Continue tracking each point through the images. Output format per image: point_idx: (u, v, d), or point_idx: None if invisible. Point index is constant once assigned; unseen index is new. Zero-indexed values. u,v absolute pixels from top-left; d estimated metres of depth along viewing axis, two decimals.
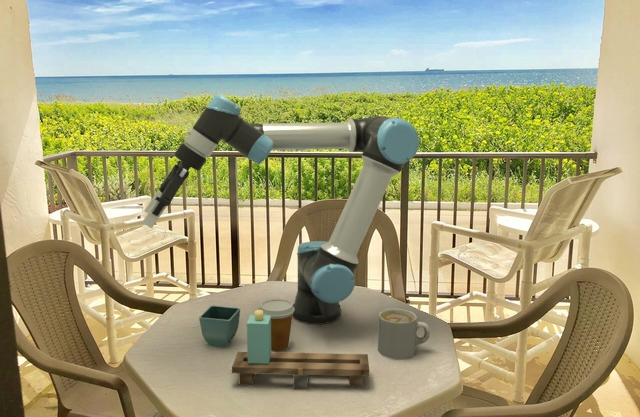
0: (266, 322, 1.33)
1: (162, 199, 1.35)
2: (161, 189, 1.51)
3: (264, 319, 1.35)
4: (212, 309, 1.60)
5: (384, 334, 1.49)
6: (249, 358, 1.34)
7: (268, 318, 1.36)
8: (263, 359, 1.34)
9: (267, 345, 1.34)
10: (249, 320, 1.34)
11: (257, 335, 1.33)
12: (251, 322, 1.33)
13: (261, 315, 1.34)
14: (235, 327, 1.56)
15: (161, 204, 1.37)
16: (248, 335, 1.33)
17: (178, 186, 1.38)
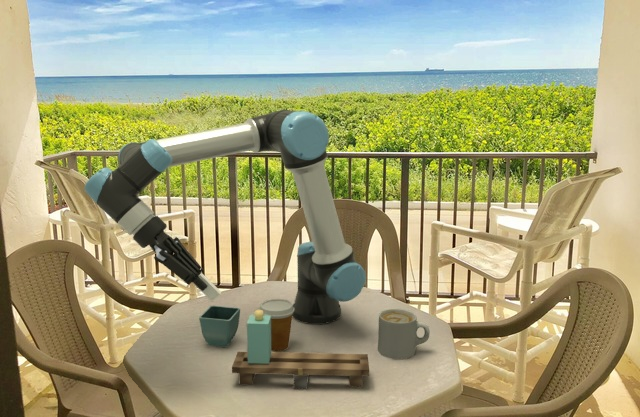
0: (266, 322, 1.33)
1: (187, 281, 1.30)
2: None
3: (264, 319, 1.35)
4: (212, 309, 1.60)
5: (384, 334, 1.49)
6: (249, 358, 1.34)
7: (268, 318, 1.36)
8: (263, 359, 1.34)
9: (267, 345, 1.34)
10: (249, 320, 1.34)
11: (257, 335, 1.33)
12: (251, 322, 1.33)
13: (261, 315, 1.34)
14: (235, 327, 1.56)
15: (194, 280, 1.32)
16: (248, 335, 1.33)
17: (175, 264, 1.28)
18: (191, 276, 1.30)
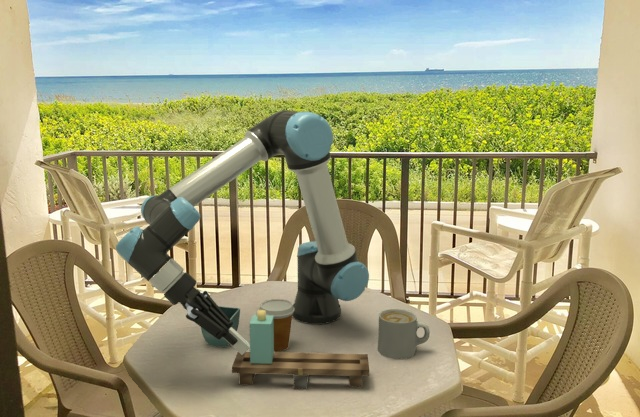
0: (269, 322, 1.33)
1: (218, 337, 1.32)
2: None
3: (267, 319, 1.35)
4: None
5: (384, 334, 1.49)
6: (252, 358, 1.34)
7: (271, 318, 1.36)
8: (266, 359, 1.34)
9: (270, 345, 1.34)
10: (252, 320, 1.34)
11: (260, 335, 1.33)
12: (254, 322, 1.33)
13: (264, 315, 1.34)
14: (235, 327, 1.56)
15: (225, 335, 1.34)
16: (251, 335, 1.33)
17: (207, 321, 1.30)
18: (222, 332, 1.32)
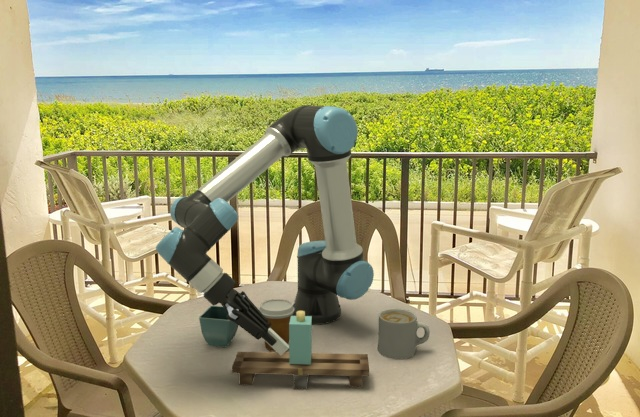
0: (308, 323, 1.33)
1: (258, 337, 1.32)
2: None
3: (306, 320, 1.35)
4: (212, 309, 1.60)
5: (384, 334, 1.49)
6: (291, 359, 1.34)
7: (309, 319, 1.35)
8: (305, 360, 1.34)
9: (309, 346, 1.33)
10: (291, 321, 1.34)
11: (299, 336, 1.33)
12: (293, 323, 1.33)
13: (303, 316, 1.34)
14: (235, 327, 1.56)
15: (264, 336, 1.34)
16: (290, 336, 1.33)
17: (247, 321, 1.30)
18: (262, 333, 1.32)
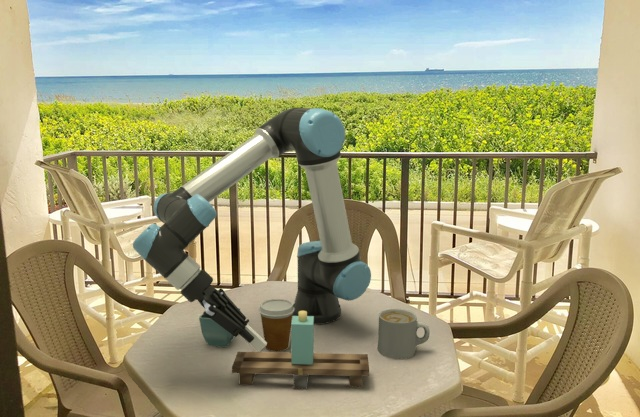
0: (310, 323, 1.33)
1: (235, 334, 1.32)
2: None
3: (308, 320, 1.35)
4: None
5: (384, 334, 1.49)
6: (293, 359, 1.34)
7: (311, 319, 1.35)
8: (307, 360, 1.34)
9: (311, 346, 1.33)
10: (293, 321, 1.34)
11: (301, 336, 1.33)
12: (295, 323, 1.33)
13: (305, 316, 1.34)
14: None
15: (241, 333, 1.34)
16: (292, 336, 1.33)
17: (224, 318, 1.30)
18: (239, 329, 1.32)
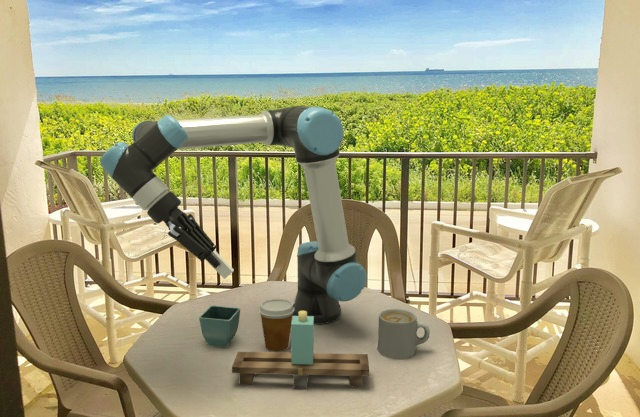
0: (310, 323, 1.33)
1: (200, 258, 1.30)
2: None
3: (308, 320, 1.35)
4: (212, 309, 1.60)
5: (384, 334, 1.49)
6: (293, 359, 1.34)
7: (311, 319, 1.35)
8: (307, 360, 1.34)
9: (311, 346, 1.33)
10: (293, 321, 1.34)
11: (301, 336, 1.33)
12: (295, 323, 1.33)
13: (305, 316, 1.34)
14: (235, 327, 1.56)
15: (207, 257, 1.32)
16: (292, 336, 1.33)
17: (189, 240, 1.28)
18: (204, 253, 1.30)
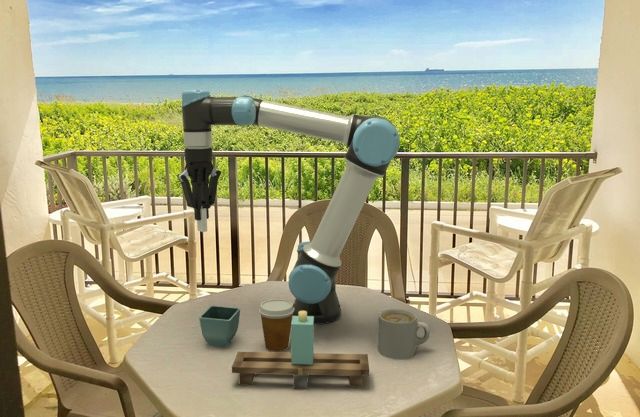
0: (310, 323, 1.33)
1: (188, 206, 1.58)
2: (201, 205, 1.61)
3: (308, 320, 1.35)
4: (212, 309, 1.60)
5: (384, 334, 1.49)
6: (293, 359, 1.34)
7: (311, 319, 1.35)
8: (307, 360, 1.34)
9: (311, 346, 1.33)
10: (293, 321, 1.34)
11: (301, 336, 1.33)
12: (295, 323, 1.33)
13: (305, 316, 1.34)
14: (235, 327, 1.56)
15: (194, 209, 1.59)
16: (292, 336, 1.33)
17: (186, 190, 1.55)
18: (191, 206, 1.57)
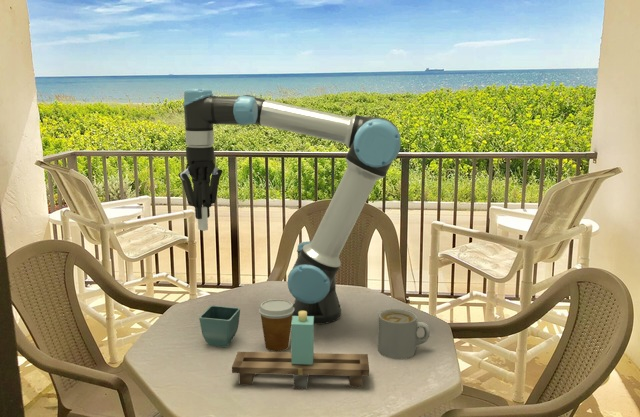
0: (310, 323, 1.33)
1: (189, 204, 1.58)
2: (202, 204, 1.61)
3: (308, 320, 1.35)
4: (212, 309, 1.60)
5: (384, 334, 1.49)
6: (293, 359, 1.34)
7: (311, 319, 1.35)
8: (307, 360, 1.34)
9: (311, 346, 1.33)
10: (293, 321, 1.34)
11: (301, 336, 1.33)
12: (295, 323, 1.33)
13: (305, 316, 1.34)
14: (235, 327, 1.56)
15: (195, 208, 1.59)
16: (292, 336, 1.33)
17: (187, 189, 1.55)
18: (192, 204, 1.57)
